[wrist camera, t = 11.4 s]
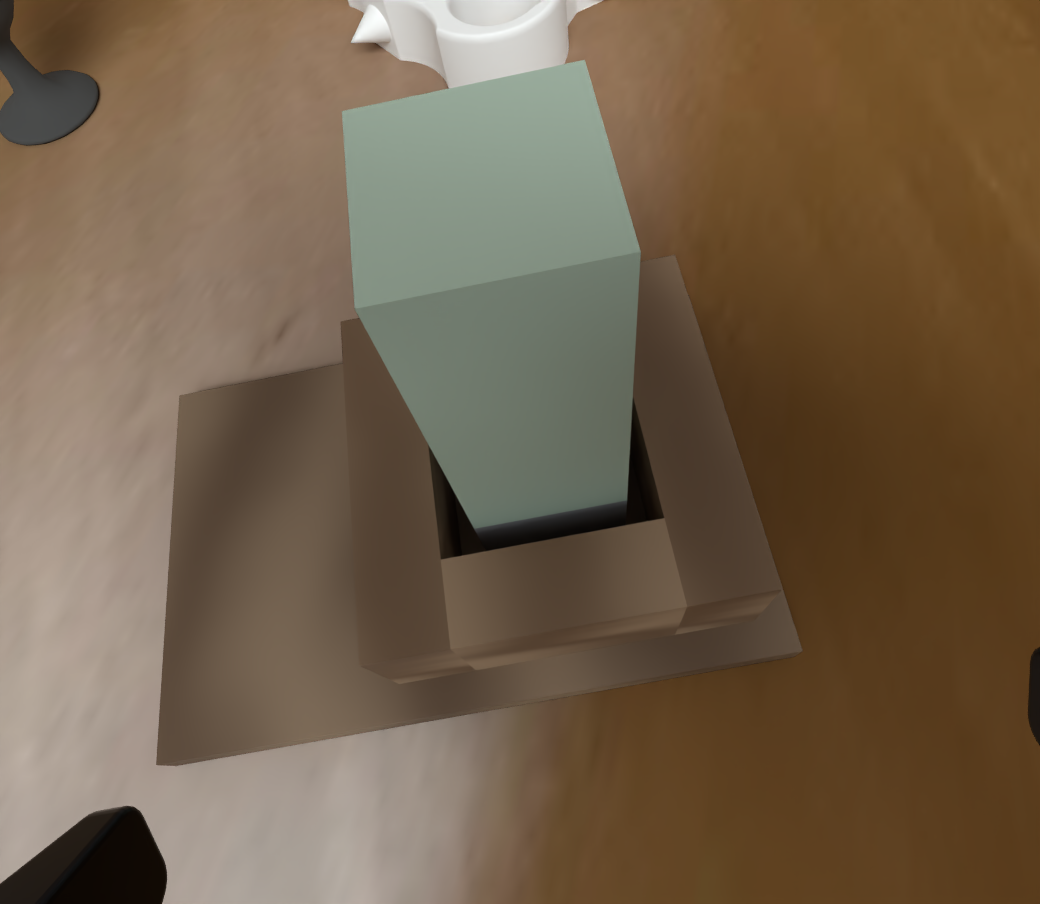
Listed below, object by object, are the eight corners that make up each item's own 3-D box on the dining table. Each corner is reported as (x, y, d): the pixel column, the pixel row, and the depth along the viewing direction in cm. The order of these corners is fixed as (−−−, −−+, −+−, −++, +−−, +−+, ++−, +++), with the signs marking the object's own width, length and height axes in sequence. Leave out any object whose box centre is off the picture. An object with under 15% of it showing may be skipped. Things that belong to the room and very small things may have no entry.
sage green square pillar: (598, 418, 23) (584, 60, 11) (625, 536, 21) (640, 251, 10) (475, 442, 23) (342, 111, 12) (491, 561, 21) (354, 308, 10)
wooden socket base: (685, 312, 25) (700, 221, 21) (793, 656, 20) (840, 625, 16) (194, 409, 26) (117, 339, 22) (176, 765, 21) (69, 761, 17)
